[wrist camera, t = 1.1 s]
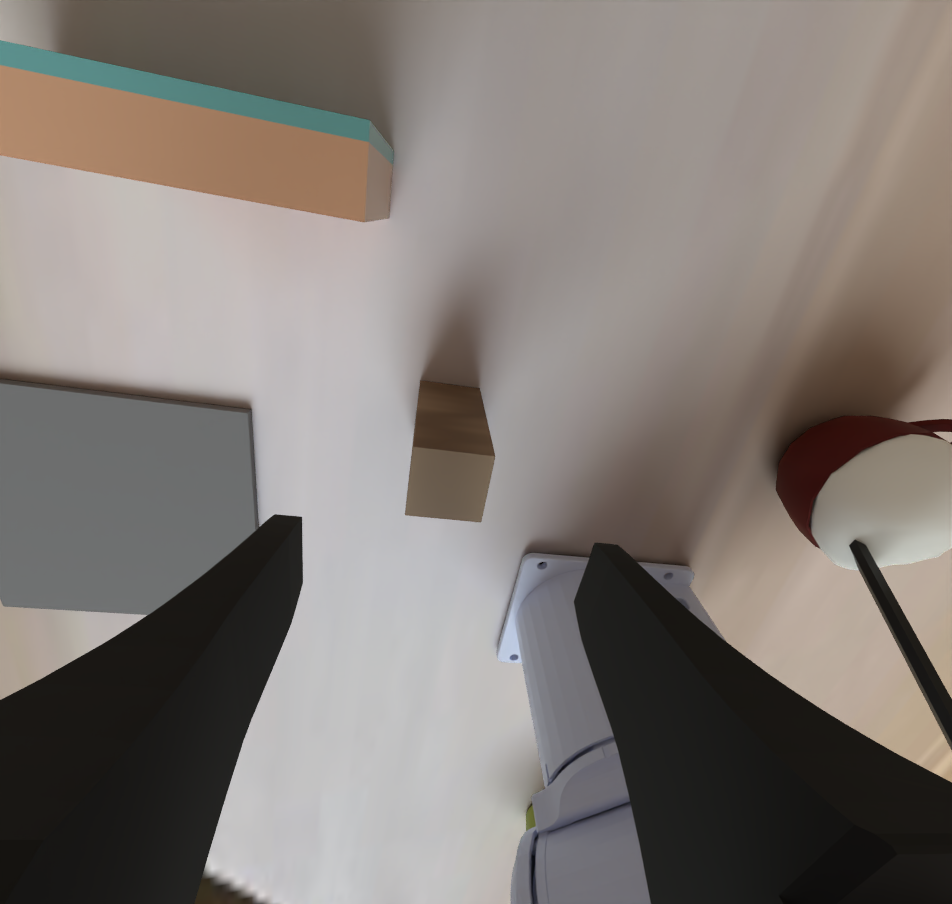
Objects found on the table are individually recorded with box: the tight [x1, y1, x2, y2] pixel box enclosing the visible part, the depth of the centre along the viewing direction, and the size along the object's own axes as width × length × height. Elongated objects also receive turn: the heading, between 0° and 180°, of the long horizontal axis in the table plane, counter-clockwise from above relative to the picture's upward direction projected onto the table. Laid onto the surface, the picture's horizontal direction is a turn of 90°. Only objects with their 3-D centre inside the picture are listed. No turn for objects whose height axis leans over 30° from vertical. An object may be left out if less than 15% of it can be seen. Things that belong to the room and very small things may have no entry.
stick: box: [405, 380, 495, 522], centre depth 17 cm, size 2×2×6 cm
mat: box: [0, 379, 258, 615], centre depth 20 cm, size 12×12×1 cm
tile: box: [0, 40, 394, 222], centre depth 12 cm, size 10×2×6 cm, turn 80°
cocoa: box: [776, 416, 952, 750], centre depth 17 cm, size 10×6×12 cm, turn 104°
